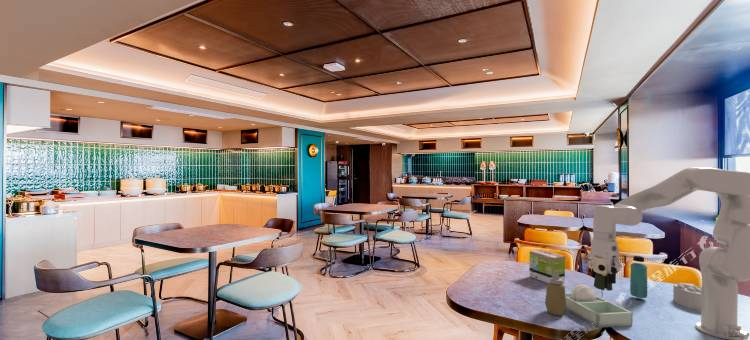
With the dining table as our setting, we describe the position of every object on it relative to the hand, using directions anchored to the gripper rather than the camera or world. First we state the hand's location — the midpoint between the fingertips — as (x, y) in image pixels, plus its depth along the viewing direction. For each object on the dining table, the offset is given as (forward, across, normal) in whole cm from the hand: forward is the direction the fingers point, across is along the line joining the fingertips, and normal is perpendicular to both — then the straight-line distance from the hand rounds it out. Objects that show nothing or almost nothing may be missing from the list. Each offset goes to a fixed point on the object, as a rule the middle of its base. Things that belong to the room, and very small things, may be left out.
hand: (603, 279), depth 137 cm
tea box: (+16, +48, -9) cm, 52 cm away
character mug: (+4, 0, 0) cm, 4 cm away
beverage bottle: (+16, +18, -35) cm, 43 cm away
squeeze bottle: (+16, +8, +15) cm, 24 cm away
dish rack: (+16, +5, 0) cm, 17 cm away
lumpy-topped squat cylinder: (+16, +9, -53) cm, 56 cm away
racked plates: (+15, +10, 0) cm, 18 cm away
